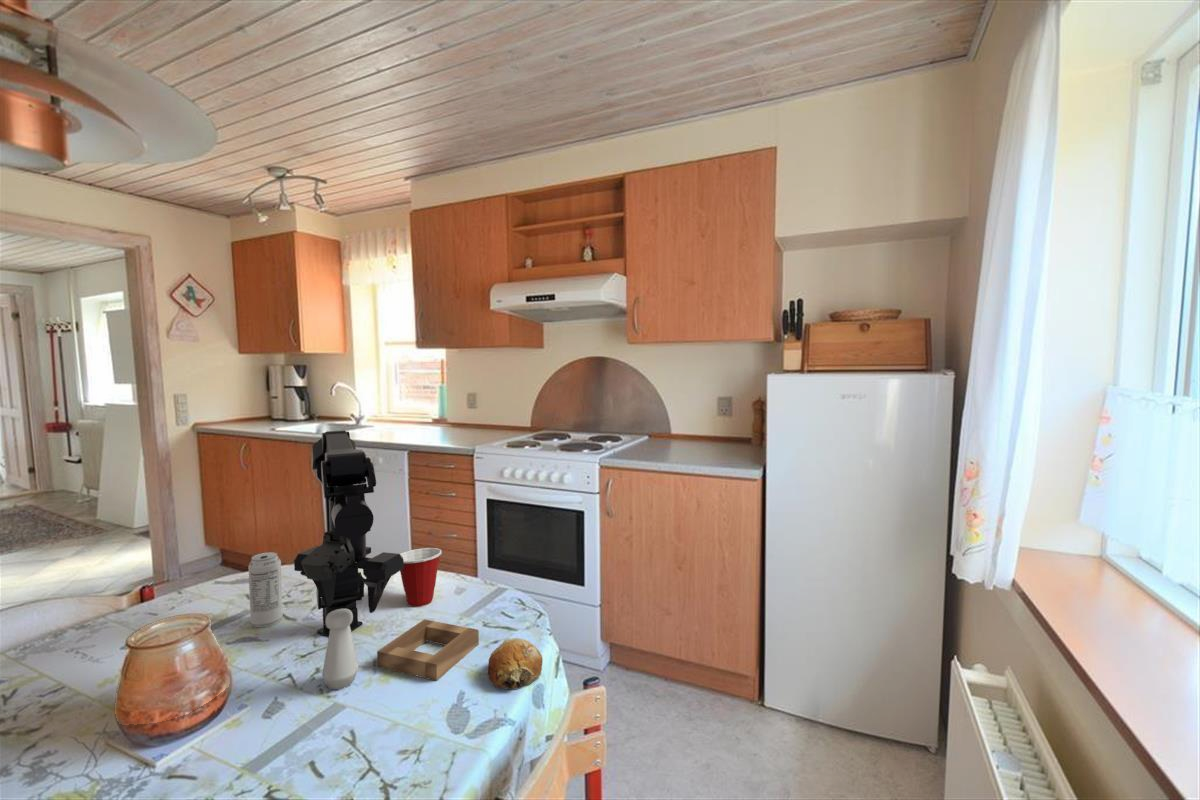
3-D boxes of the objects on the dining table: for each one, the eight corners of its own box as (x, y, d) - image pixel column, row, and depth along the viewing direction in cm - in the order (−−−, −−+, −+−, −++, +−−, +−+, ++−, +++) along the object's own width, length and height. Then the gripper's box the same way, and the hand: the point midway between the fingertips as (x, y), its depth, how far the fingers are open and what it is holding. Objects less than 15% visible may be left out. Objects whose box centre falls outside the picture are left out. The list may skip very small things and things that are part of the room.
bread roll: (547, 689, 97) (554, 642, 100) (524, 695, 88) (532, 643, 91) (500, 679, 100) (508, 634, 103) (473, 684, 91) (483, 634, 94)
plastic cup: (425, 588, 133) (424, 542, 133) (452, 599, 127) (451, 550, 126) (386, 603, 125) (384, 554, 124) (413, 616, 118) (412, 564, 118)
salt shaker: (344, 695, 89) (341, 621, 89) (315, 691, 90) (312, 618, 90) (365, 675, 95) (363, 606, 94) (338, 672, 96) (336, 603, 95)
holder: (377, 666, 98) (377, 651, 98) (424, 633, 110) (424, 619, 110) (436, 680, 93) (436, 664, 93) (478, 644, 106) (478, 629, 106)
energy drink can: (286, 614, 119) (283, 550, 119) (278, 626, 114) (276, 559, 113) (255, 618, 117) (253, 553, 117) (246, 630, 112) (244, 562, 111)
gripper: (265, 532, 87) (269, 624, 87) (361, 541, 82) (363, 638, 83) (317, 514, 97) (320, 596, 98) (404, 521, 93) (406, 607, 94)
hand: (350, 609), depth 93 cm, fingers open, 9 cm apart
